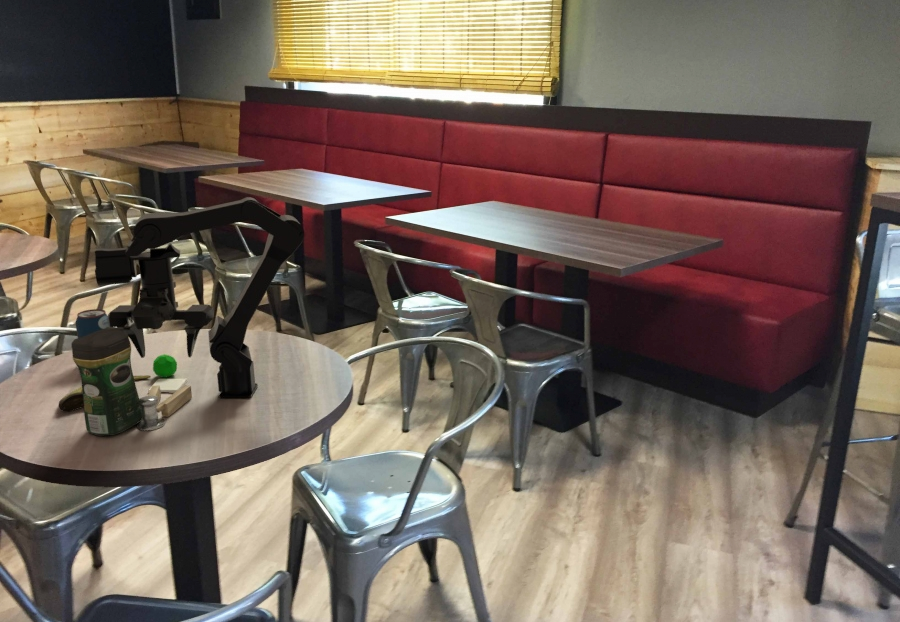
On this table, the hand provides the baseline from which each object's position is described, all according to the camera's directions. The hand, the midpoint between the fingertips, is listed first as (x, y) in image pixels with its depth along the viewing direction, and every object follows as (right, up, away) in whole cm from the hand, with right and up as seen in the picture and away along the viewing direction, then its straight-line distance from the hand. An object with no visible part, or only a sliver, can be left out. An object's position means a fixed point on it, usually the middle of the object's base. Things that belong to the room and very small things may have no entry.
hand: (166, 356), depth 146 cm
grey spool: (0, -12, -8) cm, 14 cm away
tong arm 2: (+2, -10, -1) cm, 10 cm away
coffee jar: (-6, -13, -8) cm, 16 cm away
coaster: (-3, -7, +9) cm, 12 cm away
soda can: (-24, -3, +22) cm, 33 cm away
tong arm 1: (-2, -10, -1) cm, 10 cm away
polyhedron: (-6, -5, +15) cm, 17 cm away
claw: (-15, -8, +6) cm, 19 cm away
